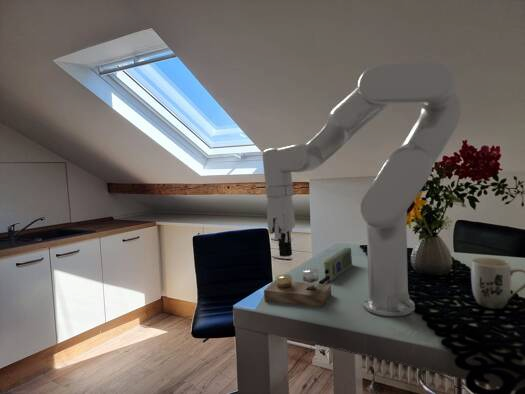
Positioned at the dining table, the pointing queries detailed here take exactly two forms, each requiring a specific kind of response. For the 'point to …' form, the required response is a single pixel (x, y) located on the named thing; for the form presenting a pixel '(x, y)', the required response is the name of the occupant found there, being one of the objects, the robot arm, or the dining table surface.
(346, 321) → the dining table surface
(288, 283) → the brass knob
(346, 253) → the handheld radio
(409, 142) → the robot arm
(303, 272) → the steel knob
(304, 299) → the panel
